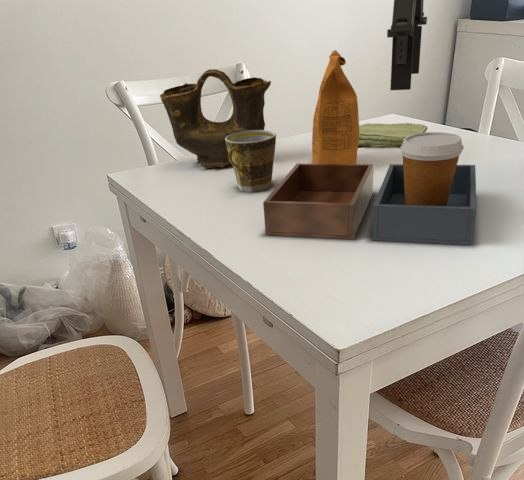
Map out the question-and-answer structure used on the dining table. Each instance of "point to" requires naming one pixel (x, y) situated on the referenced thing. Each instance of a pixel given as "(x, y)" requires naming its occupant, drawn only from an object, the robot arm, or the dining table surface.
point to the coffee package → (335, 117)
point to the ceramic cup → (252, 158)
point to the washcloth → (387, 134)
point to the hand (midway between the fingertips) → (405, 81)
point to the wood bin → (320, 201)
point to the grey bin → (425, 211)
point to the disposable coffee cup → (430, 167)
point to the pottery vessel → (208, 132)
